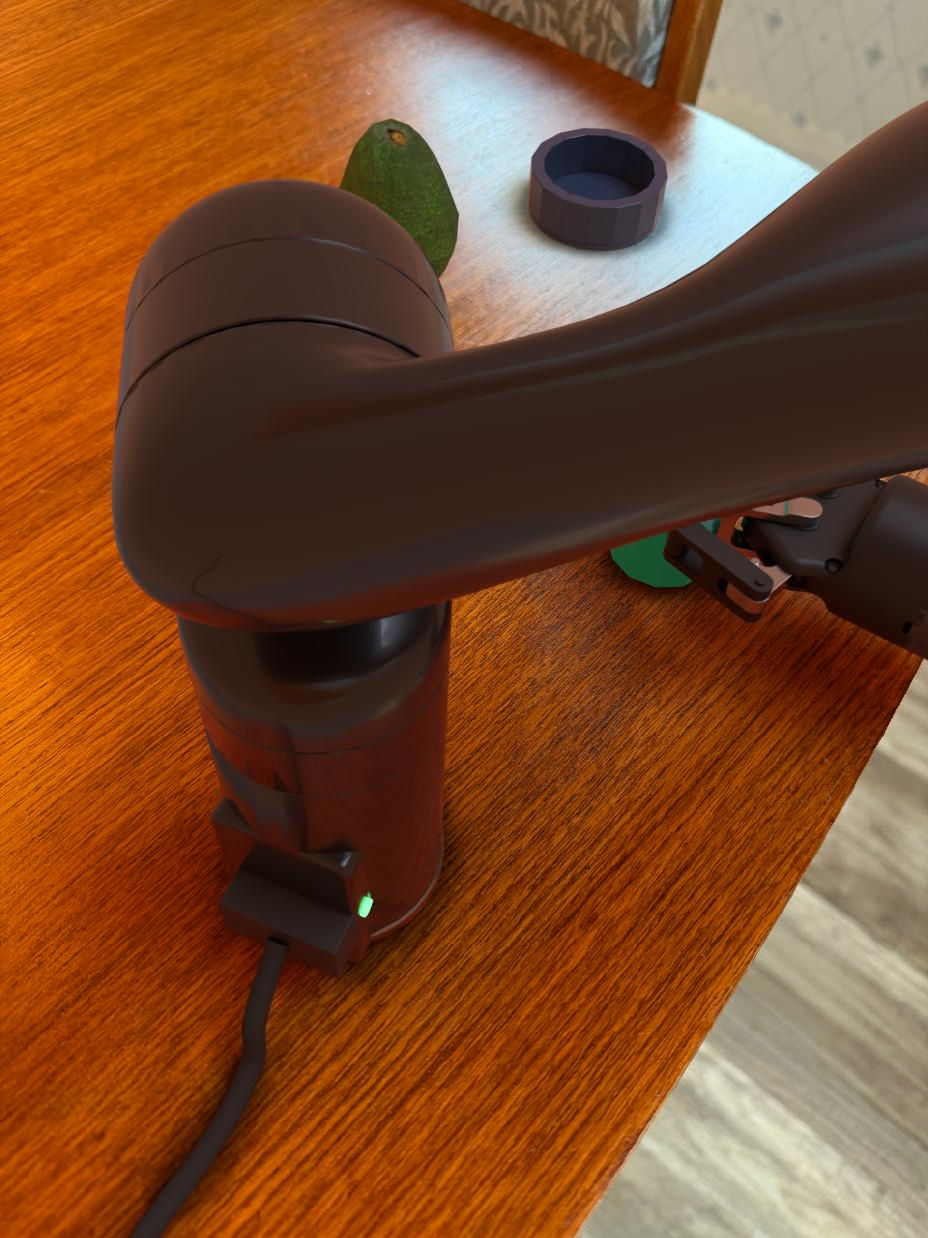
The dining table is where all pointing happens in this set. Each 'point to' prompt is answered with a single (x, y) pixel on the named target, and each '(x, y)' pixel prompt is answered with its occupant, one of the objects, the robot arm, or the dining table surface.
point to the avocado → (405, 186)
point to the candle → (649, 562)
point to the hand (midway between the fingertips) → (638, 438)
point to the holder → (596, 188)
